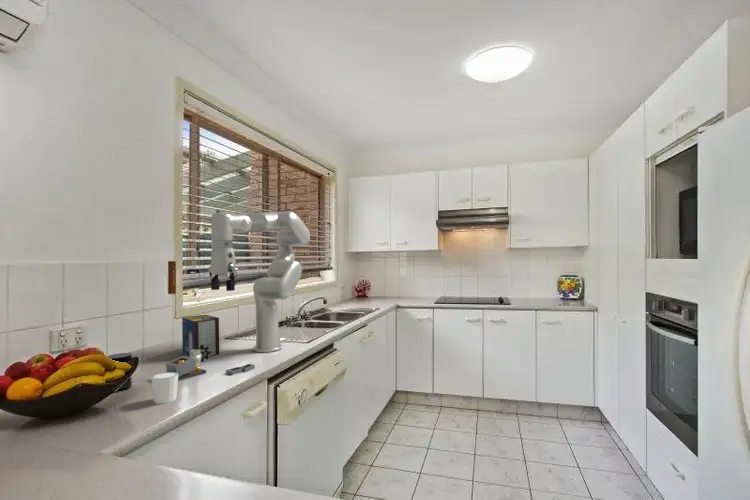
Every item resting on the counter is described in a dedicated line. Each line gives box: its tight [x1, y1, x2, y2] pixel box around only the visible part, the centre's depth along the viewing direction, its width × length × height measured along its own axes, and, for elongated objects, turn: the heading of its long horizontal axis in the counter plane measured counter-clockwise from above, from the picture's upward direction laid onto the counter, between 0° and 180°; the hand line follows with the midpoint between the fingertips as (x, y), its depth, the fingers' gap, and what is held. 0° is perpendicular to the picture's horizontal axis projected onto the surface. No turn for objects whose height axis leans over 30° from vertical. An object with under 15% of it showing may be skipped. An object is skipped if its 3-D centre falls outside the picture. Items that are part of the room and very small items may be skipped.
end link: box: [164, 355, 195, 377], centre depth 133 cm, size 6×6×4 cm
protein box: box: [181, 314, 220, 357], centre depth 167 cm, size 10×15×16 cm
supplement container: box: [107, 352, 133, 393], centre depth 121 cm, size 7×7×10 cm
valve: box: [189, 345, 211, 368], centre depth 148 cm, size 7×7×12 cm
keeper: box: [178, 360, 207, 382], centre depth 134 cm, size 11×7×6 cm, turn 145°
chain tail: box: [225, 363, 256, 376], centre depth 139 cm, size 10×4×1 cm, turn 145°
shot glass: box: [150, 371, 179, 405], centre depth 111 cm, size 7×7×7 cm
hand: (222, 290), depth 149 cm, fingers open, 9 cm apart
